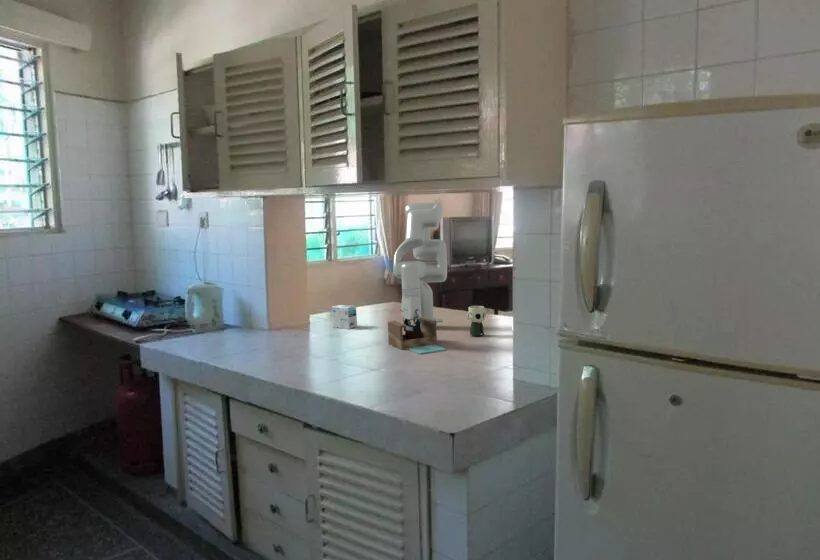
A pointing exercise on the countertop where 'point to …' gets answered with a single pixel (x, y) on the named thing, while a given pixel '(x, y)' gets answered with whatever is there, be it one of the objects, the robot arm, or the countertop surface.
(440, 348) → the teal mat
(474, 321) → the character mug
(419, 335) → the mate gourd
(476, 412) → the countertop surface
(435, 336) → the walnut box
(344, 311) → the light bulb box
